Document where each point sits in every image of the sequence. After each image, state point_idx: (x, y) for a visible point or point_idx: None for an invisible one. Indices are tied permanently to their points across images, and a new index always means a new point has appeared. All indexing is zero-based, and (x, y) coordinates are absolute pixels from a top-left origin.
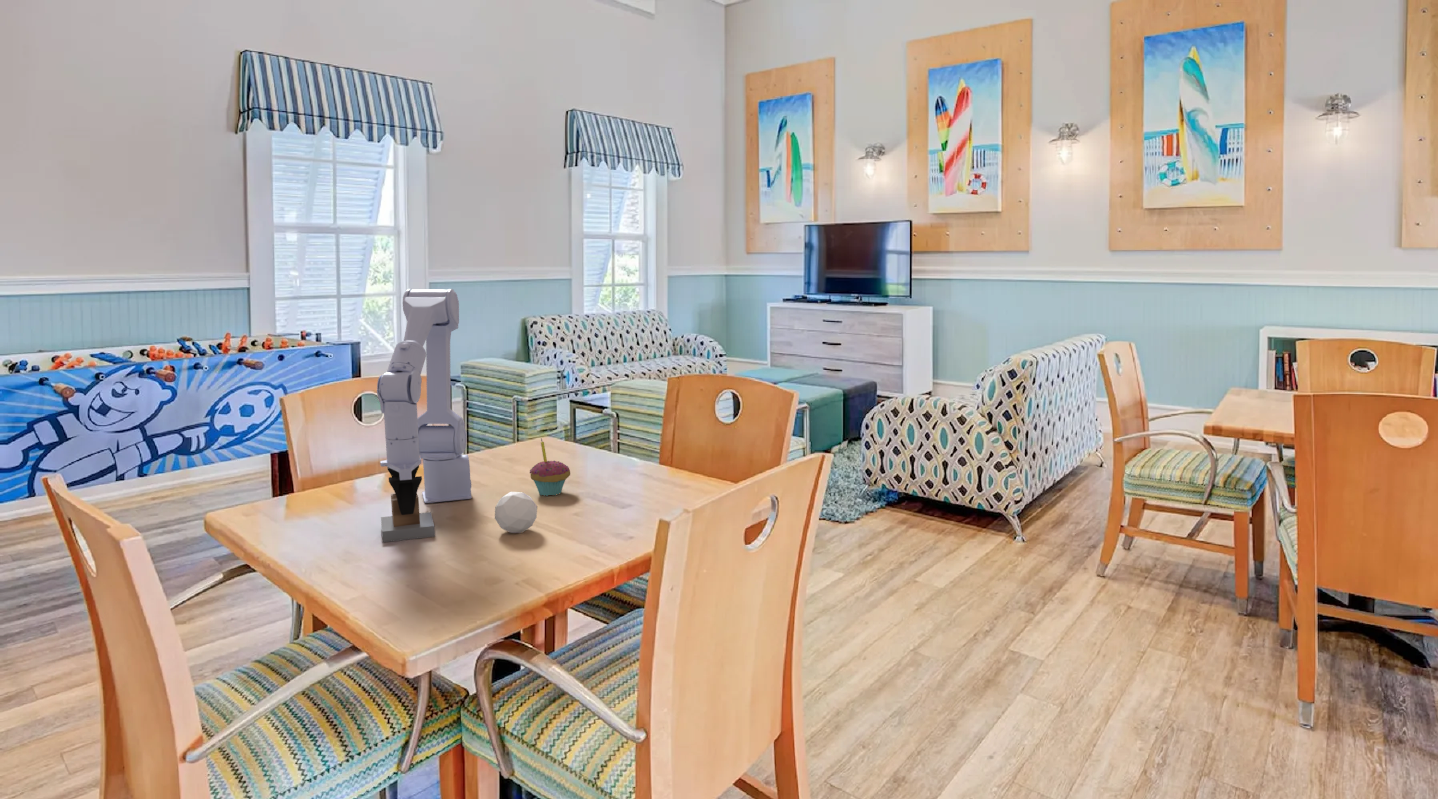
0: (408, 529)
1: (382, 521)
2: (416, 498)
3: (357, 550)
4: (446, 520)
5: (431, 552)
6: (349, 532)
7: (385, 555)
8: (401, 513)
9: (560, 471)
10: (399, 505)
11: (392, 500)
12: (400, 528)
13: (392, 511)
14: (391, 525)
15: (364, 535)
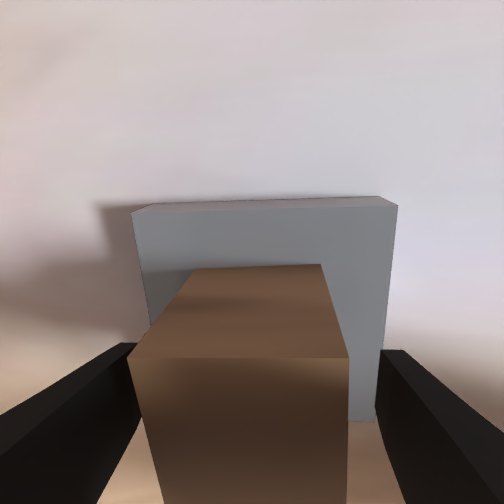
0: (151, 322)
1: (307, 214)
2: (165, 490)
3: (70, 97)
4: (359, 430)
5: (26, 353)
6: (365, 24)
7: (5, 215)
8: (113, 348)
9: None
10: (65, 380)
11: (128, 357)
12: (161, 294)
13: (253, 294)
14: (221, 257)
15: (280, 116)
